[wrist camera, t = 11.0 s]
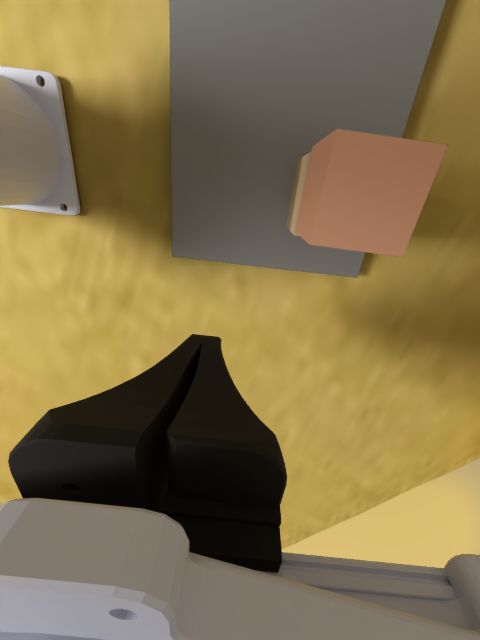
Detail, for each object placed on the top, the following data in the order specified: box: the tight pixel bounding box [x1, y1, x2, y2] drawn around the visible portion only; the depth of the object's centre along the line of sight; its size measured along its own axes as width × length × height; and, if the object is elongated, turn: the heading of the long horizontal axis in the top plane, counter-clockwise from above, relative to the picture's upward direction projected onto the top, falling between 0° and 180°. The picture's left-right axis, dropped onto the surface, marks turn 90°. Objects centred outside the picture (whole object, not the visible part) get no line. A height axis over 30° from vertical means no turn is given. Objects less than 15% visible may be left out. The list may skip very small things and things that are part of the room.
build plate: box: [169, 0, 446, 278], centre depth 16 cm, size 14×20×1 cm
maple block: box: [286, 152, 311, 236], centre depth 15 cm, size 4×4×4 cm
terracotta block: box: [295, 129, 448, 257], centre depth 12 cm, size 4×4×4 cm
